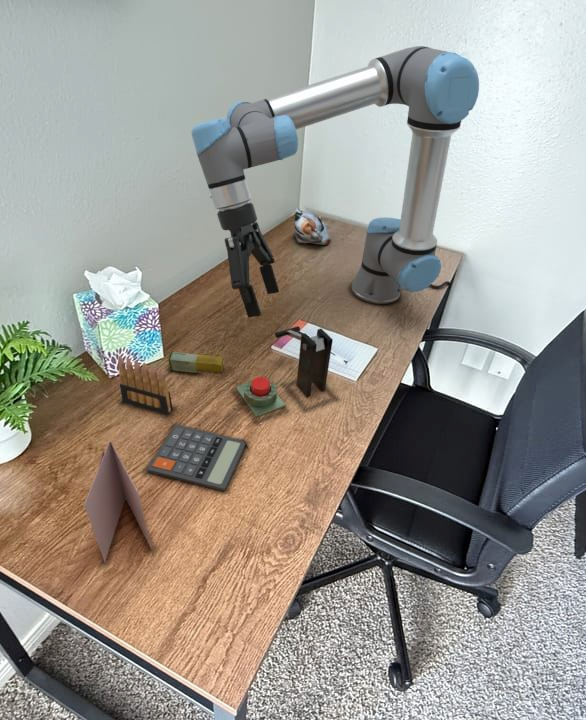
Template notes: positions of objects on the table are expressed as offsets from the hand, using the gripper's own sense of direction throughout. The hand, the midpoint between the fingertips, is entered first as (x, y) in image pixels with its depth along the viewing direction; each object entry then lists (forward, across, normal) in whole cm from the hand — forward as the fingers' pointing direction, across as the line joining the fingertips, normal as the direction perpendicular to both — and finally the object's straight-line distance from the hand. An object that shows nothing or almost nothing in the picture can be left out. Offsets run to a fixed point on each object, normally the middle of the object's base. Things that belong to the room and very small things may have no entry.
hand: (264, 303), depth 102 cm
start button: (+15, +11, -2) cm, 19 cm away
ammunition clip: (+12, +19, -24) cm, 33 cm away
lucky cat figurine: (+4, -74, -7) cm, 74 cm away
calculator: (+19, +29, -10) cm, 36 cm away
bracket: (+21, +4, +6) cm, 22 cm away
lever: (+10, +2, +7) cm, 12 cm away
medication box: (+12, +6, -19) cm, 23 cm away
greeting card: (+19, +45, -15) cm, 51 cm away
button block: (+18, +11, -3) cm, 22 cm away
